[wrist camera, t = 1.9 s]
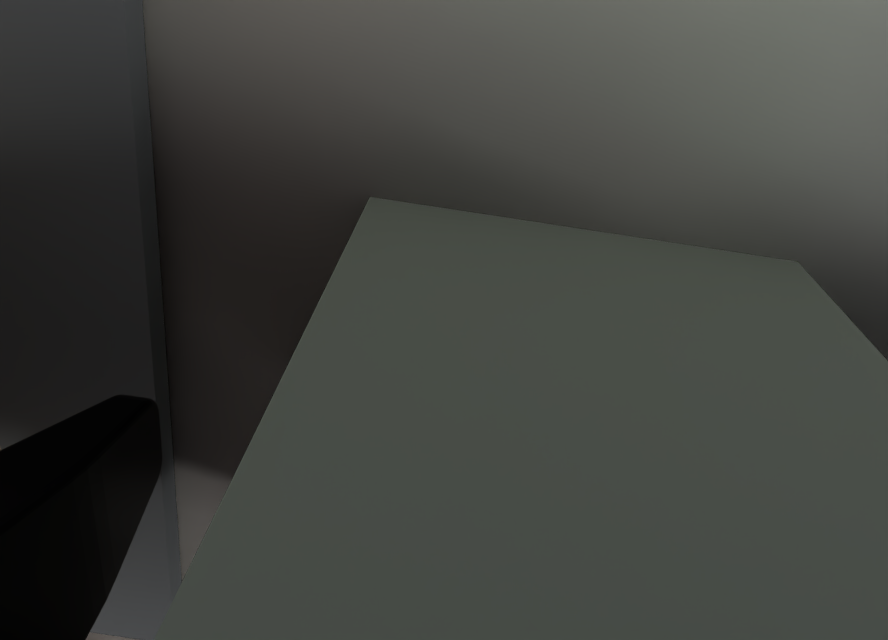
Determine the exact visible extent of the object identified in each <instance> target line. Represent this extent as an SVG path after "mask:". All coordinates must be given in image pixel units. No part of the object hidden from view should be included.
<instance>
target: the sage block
mask: <svg viewBox="0 0 888 640" xmlns="http://www.w3.org/2000/svg"><path fill="white" fill-rule="evenodd" d="M154 640H888V361H887V360H886V358H885V357H884V356H883V355H882V354H881V353H880V352H879V351H878V350H877V349H876V347H875V346H874V345H873V344H872V343H871V342H870V341H869V340H868V339H867V337H866V336H865V335H864V334H863V333H862V332H861V331H860V330H859V329H858V328H857V326H856V325H855V324H854V323H853V322H852V321H851V320H850V319H849V318H848V317H847V315H846V314H845V313H844V312H843V311H842V310H841V309H840V308H839V307H838V306H837V304H836V303H835V302H834V301H833V300H832V299H831V298H830V297H829V296H828V294H827V293H826V292H825V291H824V290H823V289H822V288H821V287H820V286H819V285H818V283H817V282H816V281H815V280H814V279H813V278H812V277H811V276H810V275H809V274H808V272H807V271H806V270H805V269H804V268H803V267H802V266H801V265H800V264H799V263H798V262H797V261H791V260H784V259H778V258H771V257H764V256H758V255H751V254H744V253H738V252H731V251H725V250H718V249H711V248H705V247H698V246H692V245H685V244H678V243H672V242H665V241H659V240H652V239H645V238H639V237H632V236H626V235H619V234H612V233H606V232H599V231H592V230H586V229H579V228H573V227H566V226H559V225H553V224H546V223H540V222H533V221H526V220H520V219H513V218H507V217H500V216H493V215H487V214H480V213H474V212H467V211H460V210H454V209H447V208H440V207H434V206H427V205H421V204H414V203H407V202H401V201H394V200H388V199H381V198H374V197H370V198H369V200H368V202H367V204H366V206H365V208H364V210H363V212H362V214H361V216H360V218H359V220H358V222H357V224H356V226H355V228H354V230H353V232H352V235H351V237H350V239H349V241H348V243H347V245H346V247H345V249H344V251H343V253H342V255H341V257H340V259H339V261H338V263H337V265H336V267H335V269H334V271H333V273H332V276H331V278H330V280H329V282H328V284H327V286H326V288H325V290H324V292H323V294H322V296H321V298H320V300H319V302H318V304H317V306H316V308H315V310H314V312H313V314H312V317H311V319H310V321H309V323H308V325H307V327H306V329H305V331H304V333H303V335H302V337H301V339H300V341H299V343H298V345H297V347H296V349H295V351H294V353H293V355H292V358H291V360H290V362H289V364H288V366H287V368H286V370H285V372H284V374H283V376H282V378H281V380H280V382H279V384H278V386H277V388H276V390H275V392H274V394H273V396H272V399H271V401H270V403H269V405H268V407H267V409H266V411H265V413H264V415H263V417H262V419H261V421H260V423H259V425H258V427H257V429H256V431H255V433H254V435H253V437H252V440H251V442H250V444H249V446H248V448H247V450H246V452H245V454H244V456H243V458H242V460H241V462H240V464H239V466H238V468H237V470H236V472H235V474H234V476H233V478H232V481H231V483H230V485H229V487H228V489H227V491H226V493H225V495H224V497H223V499H222V501H221V503H220V505H219V507H218V509H217V511H216V513H215V515H214V517H213V519H212V522H211V524H210V526H209V528H208V530H207V532H206V534H205V536H204V538H203V540H202V542H201V544H200V546H199V548H198V550H197V552H196V554H195V556H194V558H193V561H192V563H191V565H190V567H189V569H188V571H187V573H186V575H185V577H184V579H183V581H182V583H181V585H180V587H179V589H178V591H177V593H176V595H175V597H174V599H173V602H172V604H171V606H170V608H169V610H168V612H167V614H166V616H165V618H164V620H163V622H162V624H161V626H160V628H159V630H158V632H157V634H156V636H155V638H154Z"/></svg>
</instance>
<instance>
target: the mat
mask: <svg viewBox="0 0 888 640" xmlns="http://www.w3.org/2000/svg"><path fill="white" fill-rule="evenodd" d="M119 394H124V395H131V396H138V397H145V398H150V399H153V400H154V401H155V402H156V403H157V405H158V408H159V414H160V427H161V439H162V452H163V461H162V468H161V472H160V476H159V478H158V481H157V483H156V486H155V488H154V490H153V493H152V495H151V498H150V500H149V502H148V505H147V507H146V509H145V512H144V514H143V517H142V519H141V521H140V524H139V526H138V528H137V531H136V533H135V536H134V538H133V540H132V543H131V545H130V547H129V550H128V552H127V555H126V557H125V559H124V562H123V564H122V567H121V569H120V571H119V574H118V576H117V578H116V581H115V583H114V585H113V587H112V590H111V592H110V594H109V596H108V599H107V601H106V603H105V604H104V606H103V608H102V610H101V612H100V614H99V616H98V618H97V620H96V622H95V623H94V625H93V627H92V629H91V631H90V632H93V633H99V634H106V635H113V636H120V637H126V638H133V639H140V640H154V638H155V636H156V634H157V632H158V630H159V628H160V626H161V624H162V622H163V620H164V618H165V616H166V614H167V612H168V610H169V608H170V606H171V604H172V602H173V599H174V597H175V595H176V593H177V591H178V589H179V587H180V585H181V583H182V580H181V565H180V550H179V535H178V521H177V506H176V491H175V476H174V462H173V447H172V432H171V417H170V403H169V388H168V373H167V358H166V344H165V329H164V314H163V299H162V285H161V270H160V255H159V240H158V226H157V211H156V196H155V181H154V167H153V152H152V137H151V122H150V108H149V93H148V78H147V63H146V49H145V34H144V19H143V4H142V0H0V448H1V450H2V449H4V448H6V447H8V446H10V445H12V444H15V443H17V442H19V441H21V440H23V439H25V438H27V437H29V436H31V435H33V434H35V433H37V432H40V431H42V430H44V429H46V428H48V427H50V426H52V425H54V424H56V423H58V422H60V421H62V420H64V419H67V418H69V417H71V416H73V415H75V414H77V413H79V412H81V411H83V410H85V409H87V408H89V407H92V406H94V405H96V404H98V403H100V402H102V401H104V400H106V399H108V398H110V397H113V396H115V395H119Z"/></svg>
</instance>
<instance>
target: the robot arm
mask: <svg viewBox="0 0 888 640" xmlns="http://www.w3.org/2000/svg"><path fill="white" fill-rule="evenodd" d="M162 461H163V452H162V439H161V427H160V414H159V408H158V405H157V403H156V402H155V401H154V400H153V399H150V398H145V397H138V396H131V395H124V394H119V395H115V396H113V397H110V398H108V399H106V400H104V401H102V402H100V403H98V404H96V405H94V406H92V407H89V408H87V409H85V410H83V411H81V412H79V413H77V414H75V415H73V416H71V417H69V418H67V419H64V420H62V421H60V422H58V423H56V424H54V425H52V426H50V427H48V428H46V429H44V430H42V431H40V432H37V433H35V434H33V435H31V436H29V437H27V438H25V439H23V440H21V441H19V442H17V443H15V444H12V445H10V446H8V447H6V448H4V449H2V450H0V640H86V638H87V636H88V634H89V632H90V631H91V629H92V627H93V625H94V623H95V622H96V620H97V618H98V616H99V614H100V612H101V610H102V608H103V606H104V604H105V603H106V601H107V599H108V596H109V594H110V592H111V590H112V587H113V585H114V583H115V581H116V578H117V576H118V574H119V571H120V569H121V567H122V564H123V562H124V559H125V557H126V555H127V552H128V550H129V547H130V545H131V543H132V540H133V538H134V536H135V533H136V531H137V528H138V526H139V524H140V521H141V519H142V517H143V514H144V512H145V509H146V507H147V505H148V502H149V500H150V498H151V495H152V493H153V490H154V488H155V486H156V483H157V481H158V478H159V476H160V472H161V468H162Z"/></svg>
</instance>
